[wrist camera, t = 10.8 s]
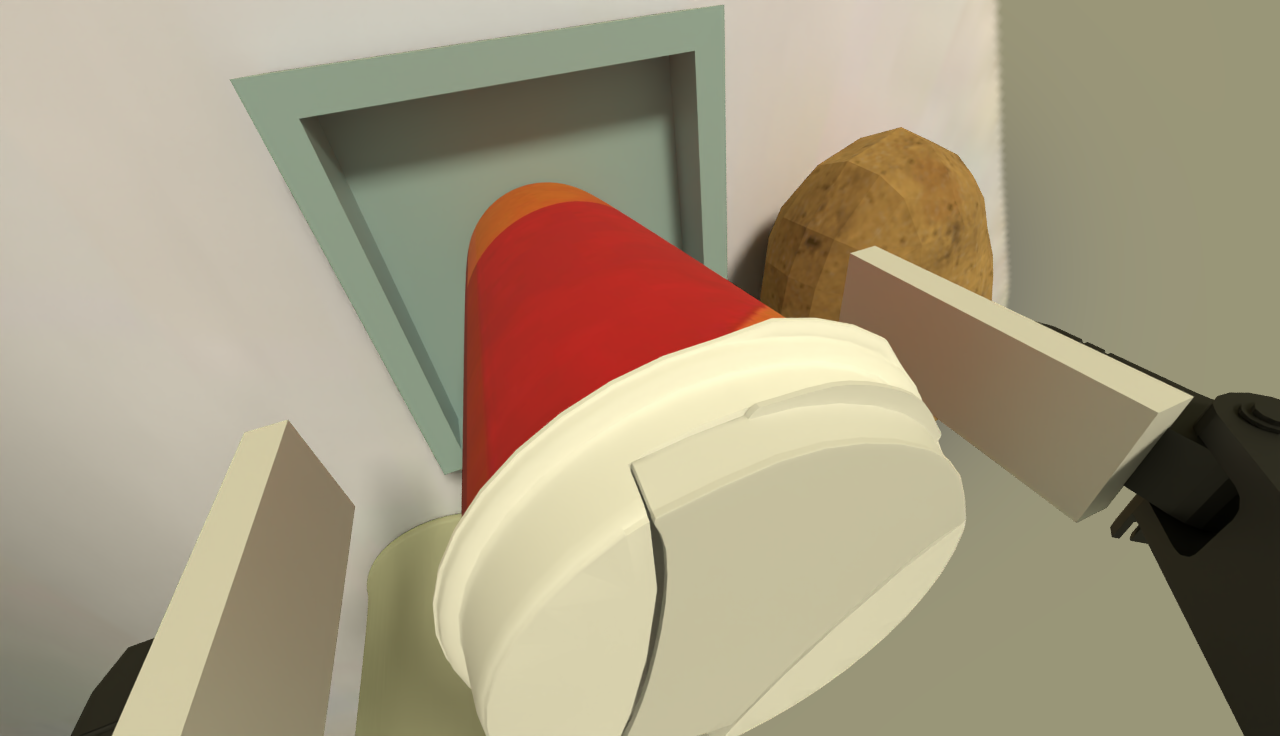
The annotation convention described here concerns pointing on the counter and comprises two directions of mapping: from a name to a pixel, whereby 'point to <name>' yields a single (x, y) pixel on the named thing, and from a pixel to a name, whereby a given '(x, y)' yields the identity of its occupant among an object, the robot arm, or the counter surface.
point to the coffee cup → (670, 486)
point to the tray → (492, 166)
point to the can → (410, 645)
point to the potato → (877, 223)
